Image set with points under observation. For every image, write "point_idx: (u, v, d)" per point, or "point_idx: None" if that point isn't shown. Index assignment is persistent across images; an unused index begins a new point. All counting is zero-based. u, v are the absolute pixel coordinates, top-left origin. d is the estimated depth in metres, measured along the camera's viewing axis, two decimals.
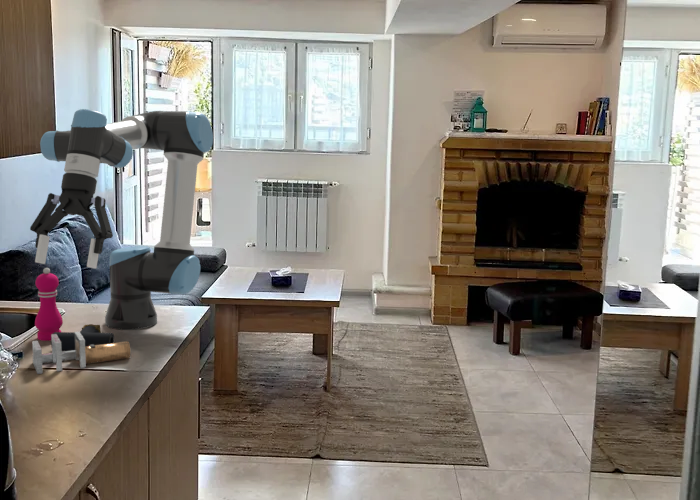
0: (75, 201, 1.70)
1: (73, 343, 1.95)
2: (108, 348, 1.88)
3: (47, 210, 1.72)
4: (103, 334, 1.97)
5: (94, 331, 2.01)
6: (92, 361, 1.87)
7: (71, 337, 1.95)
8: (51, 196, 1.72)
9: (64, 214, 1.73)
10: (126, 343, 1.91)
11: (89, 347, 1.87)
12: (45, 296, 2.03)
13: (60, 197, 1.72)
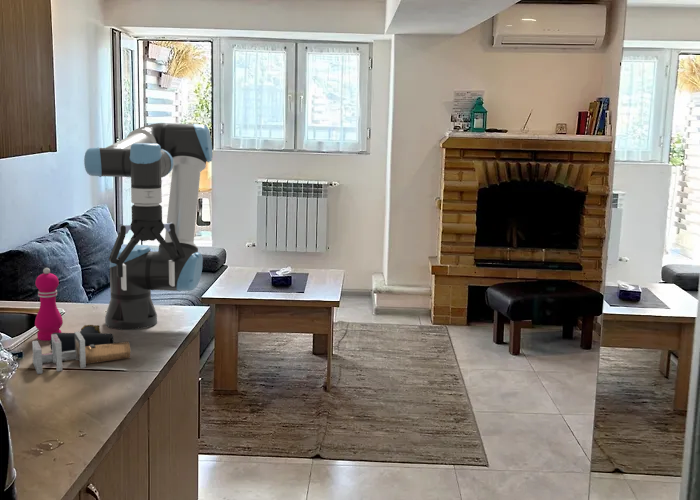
0: (153, 230, 1.89)
1: (72, 344, 1.94)
2: (108, 348, 1.88)
3: None
4: (102, 335, 1.96)
5: (93, 332, 2.01)
6: (92, 361, 1.87)
7: (70, 338, 1.95)
8: (124, 228, 1.86)
9: None
10: (126, 343, 1.91)
11: (89, 347, 1.87)
12: (45, 296, 2.03)
13: (133, 227, 1.87)
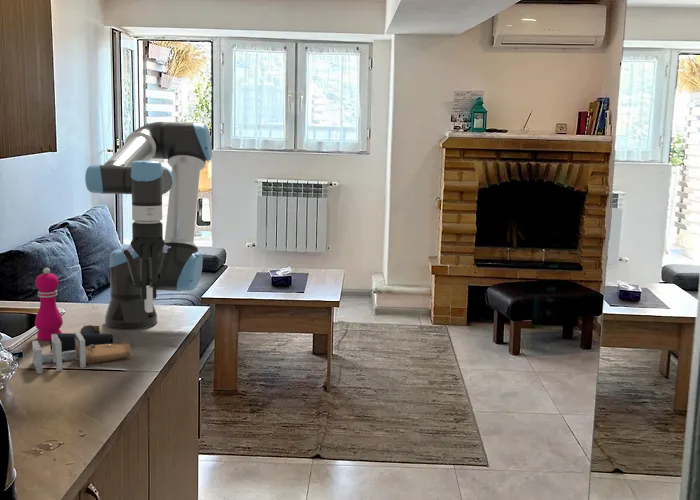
0: (154, 247, 1.89)
1: (72, 344, 1.94)
2: (108, 348, 1.88)
3: (133, 263, 1.89)
4: (102, 335, 1.96)
5: (93, 332, 2.00)
6: (92, 361, 1.87)
7: (70, 338, 1.94)
8: (127, 252, 1.87)
9: None
10: (126, 343, 1.91)
11: (89, 347, 1.87)
12: (45, 296, 2.03)
13: (134, 246, 1.88)
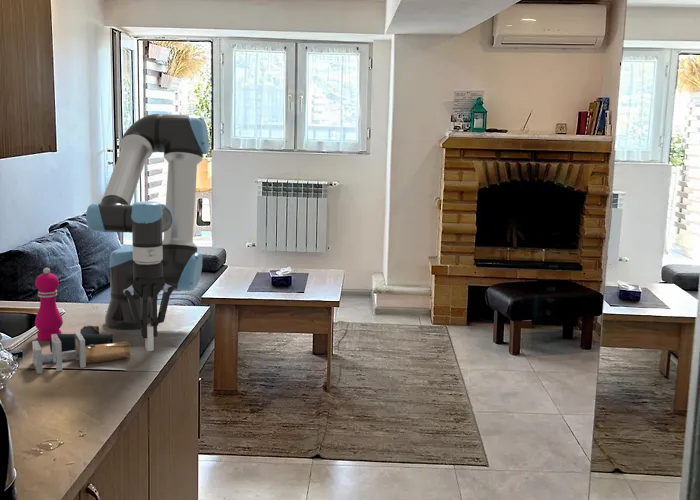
0: (154, 287, 1.91)
1: (72, 345, 1.93)
2: (108, 347, 1.89)
3: (134, 303, 1.90)
4: (102, 335, 1.95)
5: (93, 332, 2.00)
6: (92, 360, 1.87)
7: (70, 339, 1.94)
8: (128, 292, 1.89)
9: None
10: (126, 342, 1.92)
11: (89, 346, 1.87)
12: (45, 296, 2.03)
13: (135, 286, 1.90)
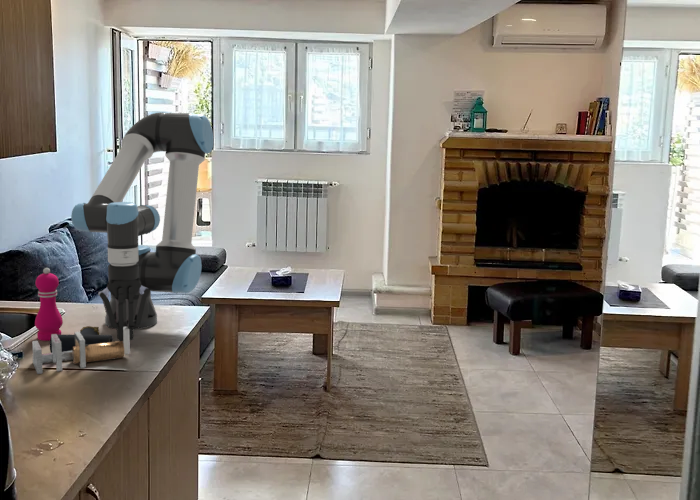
0: (130, 289, 1.88)
1: (72, 345, 1.93)
2: (102, 346, 1.88)
3: (110, 305, 1.87)
4: (102, 336, 1.95)
5: (93, 333, 1.99)
6: (86, 359, 1.86)
7: (70, 339, 1.93)
8: (103, 294, 1.86)
9: None
10: (119, 341, 1.91)
11: None
12: (45, 296, 2.03)
13: (110, 288, 1.87)
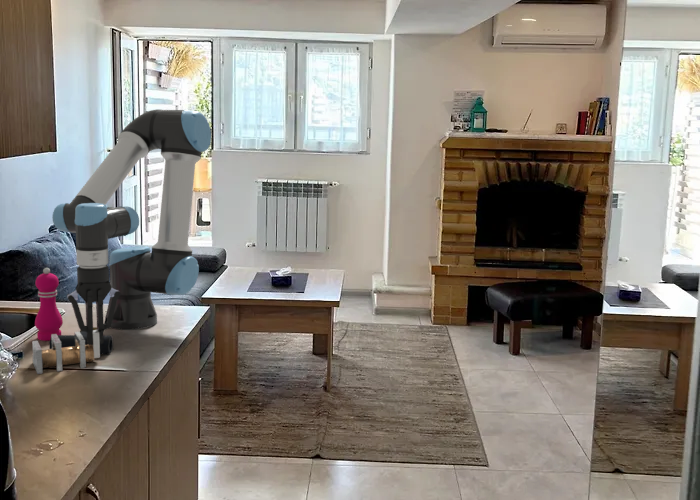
0: (99, 292, 1.85)
1: None
2: (71, 350, 1.85)
3: None
4: None
5: None
6: (54, 363, 1.83)
7: (69, 340, 1.93)
8: (72, 297, 1.82)
9: None
10: (89, 345, 1.88)
11: (51, 349, 1.83)
12: (45, 296, 2.03)
13: (79, 291, 1.83)
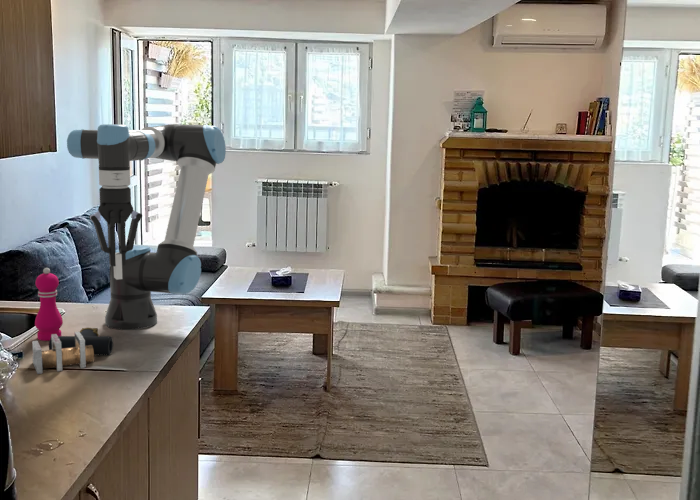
0: (122, 213, 1.86)
1: None
2: (70, 351, 1.85)
3: (101, 229, 1.85)
4: (102, 338, 1.94)
5: (92, 335, 1.98)
6: (54, 364, 1.83)
7: (69, 341, 1.92)
8: (95, 217, 1.83)
9: None
10: (89, 346, 1.88)
11: (51, 350, 1.83)
12: (45, 296, 2.03)
13: (102, 211, 1.84)
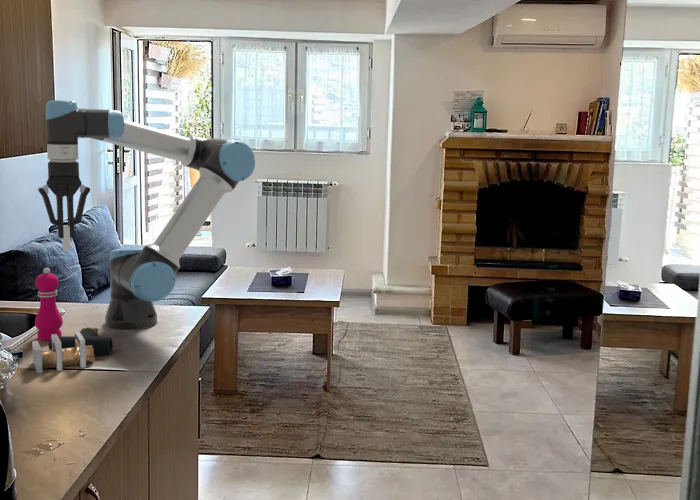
0: (69, 186, 1.92)
1: (71, 347, 1.91)
2: (71, 351, 1.84)
3: (49, 201, 1.91)
4: (102, 338, 1.93)
5: (92, 335, 1.98)
6: (54, 365, 1.83)
7: (69, 341, 1.92)
8: (43, 190, 1.90)
9: None
10: (89, 346, 1.88)
11: (51, 350, 1.83)
12: (45, 296, 2.03)
13: (50, 184, 1.91)
